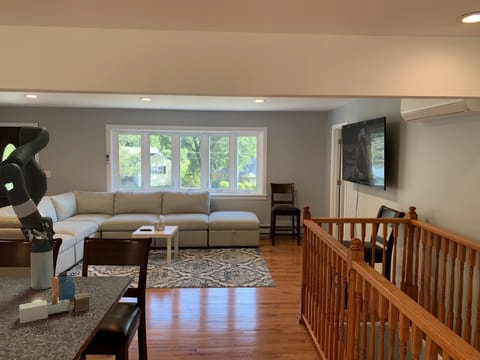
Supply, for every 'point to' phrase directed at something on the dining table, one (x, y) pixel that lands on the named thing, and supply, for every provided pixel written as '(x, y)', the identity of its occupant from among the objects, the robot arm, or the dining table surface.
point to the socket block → (81, 302)
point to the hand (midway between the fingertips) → (46, 246)
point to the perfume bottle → (65, 287)
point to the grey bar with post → (57, 299)
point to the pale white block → (33, 311)
